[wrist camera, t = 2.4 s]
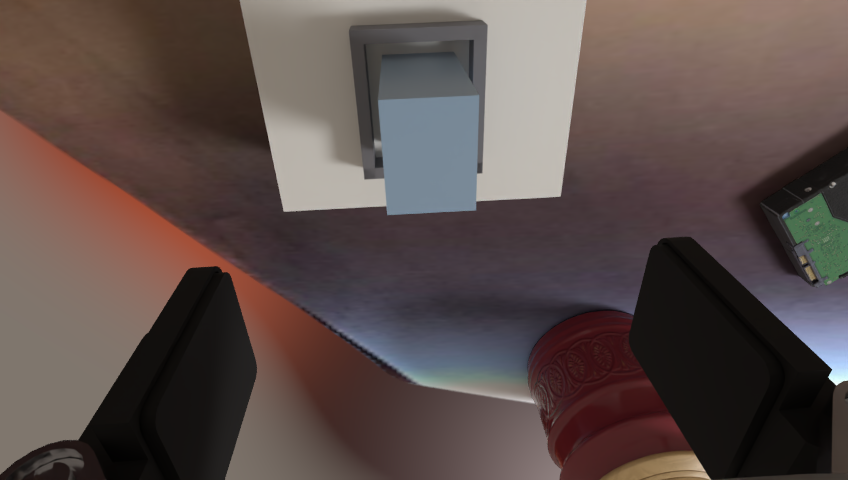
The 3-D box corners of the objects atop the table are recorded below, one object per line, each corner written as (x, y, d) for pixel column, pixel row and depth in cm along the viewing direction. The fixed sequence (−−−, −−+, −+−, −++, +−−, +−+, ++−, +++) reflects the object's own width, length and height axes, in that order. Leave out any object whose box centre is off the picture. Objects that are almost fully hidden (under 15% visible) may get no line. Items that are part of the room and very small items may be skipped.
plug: (382, 54, 23) (378, 100, 16) (453, 51, 23) (479, 95, 17) (388, 143, 26) (387, 214, 19) (453, 140, 26) (475, 210, 19)
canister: (637, 284, 42) (772, 473, 27) (671, 372, 48) (797, 565, 33) (502, 342, 45) (558, 542, 30) (551, 419, 51) (618, 616, 36)
